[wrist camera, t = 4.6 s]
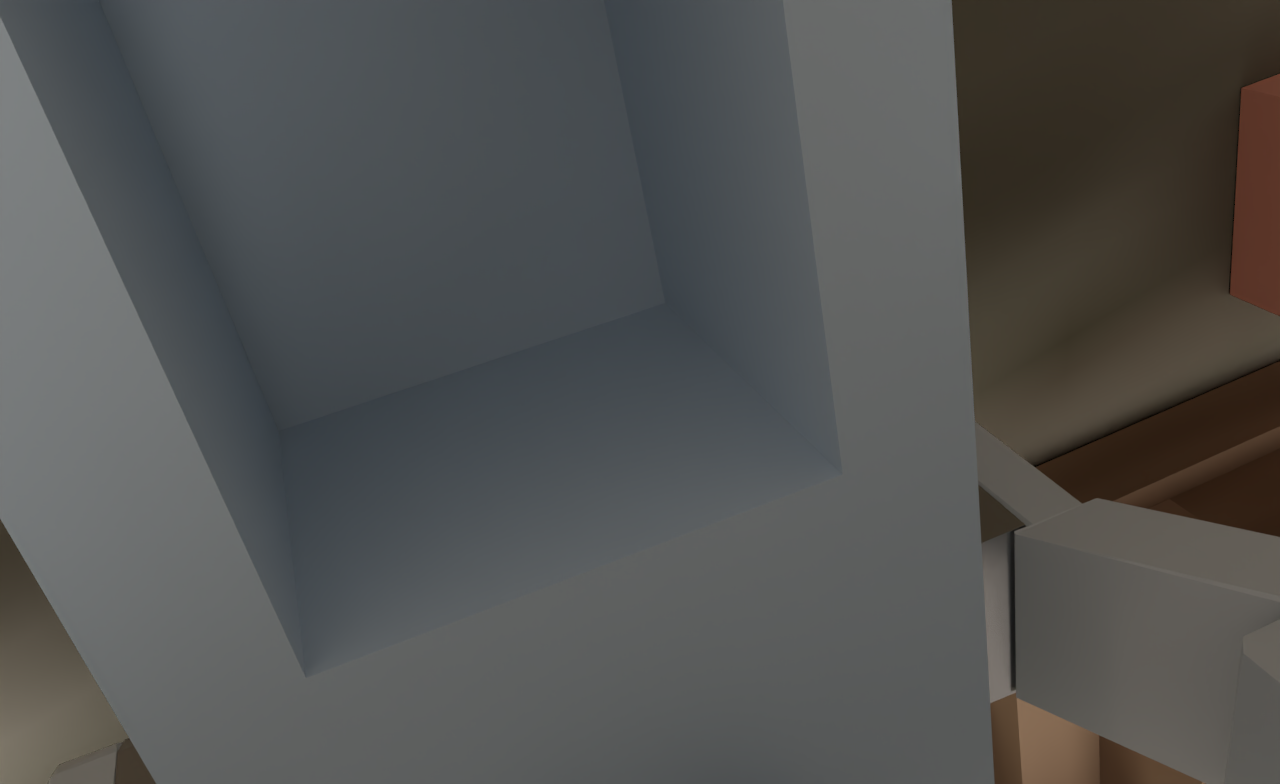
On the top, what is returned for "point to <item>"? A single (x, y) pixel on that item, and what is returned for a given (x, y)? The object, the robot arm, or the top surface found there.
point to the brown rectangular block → (1167, 482)
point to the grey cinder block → (498, 386)
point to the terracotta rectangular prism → (1258, 198)
